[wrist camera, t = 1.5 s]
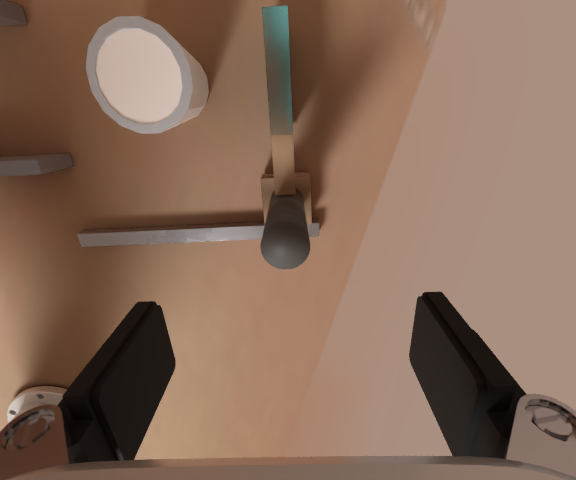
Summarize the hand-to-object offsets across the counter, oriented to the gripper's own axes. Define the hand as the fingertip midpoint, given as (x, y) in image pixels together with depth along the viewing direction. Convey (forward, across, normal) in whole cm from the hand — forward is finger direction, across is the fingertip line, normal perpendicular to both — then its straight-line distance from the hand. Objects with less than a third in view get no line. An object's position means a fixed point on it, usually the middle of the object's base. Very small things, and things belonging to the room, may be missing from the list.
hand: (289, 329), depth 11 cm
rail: (+20, +10, +4) cm, 22 cm away
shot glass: (+20, +10, -10) cm, 24 cm away
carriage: (+20, 0, -5) cm, 21 cm away
